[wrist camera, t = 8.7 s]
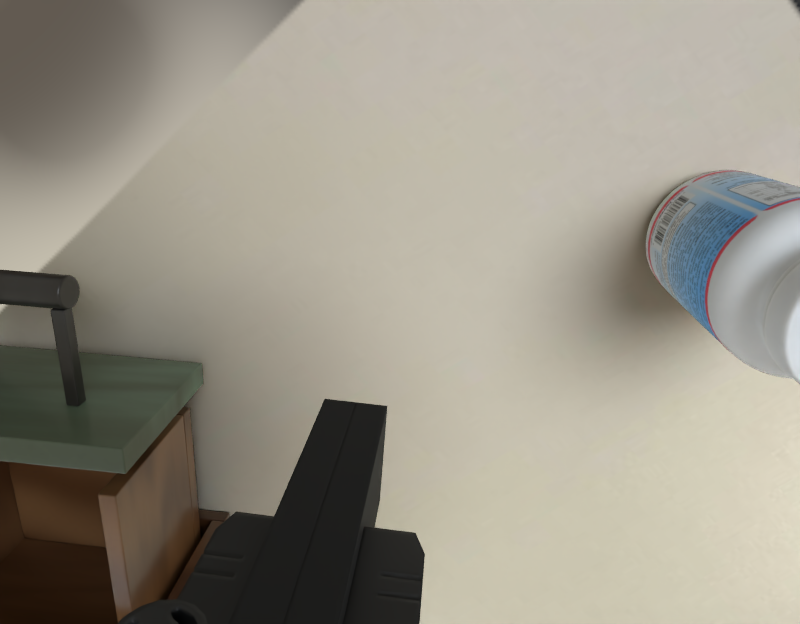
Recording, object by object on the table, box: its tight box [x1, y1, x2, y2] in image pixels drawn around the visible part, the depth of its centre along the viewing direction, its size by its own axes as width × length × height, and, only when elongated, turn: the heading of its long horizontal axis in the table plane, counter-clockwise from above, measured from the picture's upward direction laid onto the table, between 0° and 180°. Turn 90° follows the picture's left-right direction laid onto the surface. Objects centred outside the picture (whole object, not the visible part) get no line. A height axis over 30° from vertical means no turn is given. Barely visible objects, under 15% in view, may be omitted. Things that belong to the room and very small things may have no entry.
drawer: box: [0, 270, 203, 624], centre depth 29 cm, size 18×12×8 cm
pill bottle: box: [646, 170, 800, 384], centre depth 22 cm, size 6×6×11 cm
